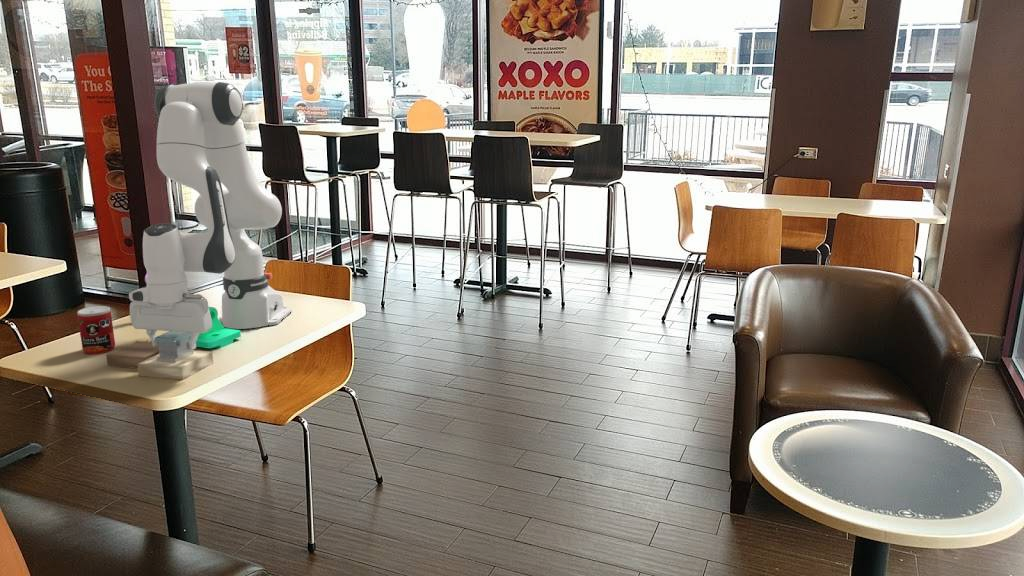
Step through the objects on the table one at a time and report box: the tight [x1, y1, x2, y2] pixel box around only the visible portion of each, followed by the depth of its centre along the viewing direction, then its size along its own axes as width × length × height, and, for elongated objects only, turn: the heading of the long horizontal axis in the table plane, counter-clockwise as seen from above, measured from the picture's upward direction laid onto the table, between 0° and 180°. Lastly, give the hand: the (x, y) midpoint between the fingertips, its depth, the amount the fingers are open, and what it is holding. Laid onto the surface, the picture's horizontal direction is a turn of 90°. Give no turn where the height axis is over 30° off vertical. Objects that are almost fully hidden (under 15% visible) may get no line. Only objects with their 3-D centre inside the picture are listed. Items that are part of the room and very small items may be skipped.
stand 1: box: [105, 340, 159, 369], centre depth 195 cm, size 11×11×3 cm
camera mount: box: [189, 306, 242, 349], centre depth 207 cm, size 12×8×10 cm, turn 157°
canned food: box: [76, 305, 116, 355], centre depth 202 cm, size 8×8×11 cm
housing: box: [154, 331, 194, 363], centre depth 187 cm, size 5×7×6 cm
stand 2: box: [137, 349, 214, 381], centre depth 188 cm, size 12×12×3 cm
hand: (174, 347), depth 187 cm, fingers open, 8 cm apart
